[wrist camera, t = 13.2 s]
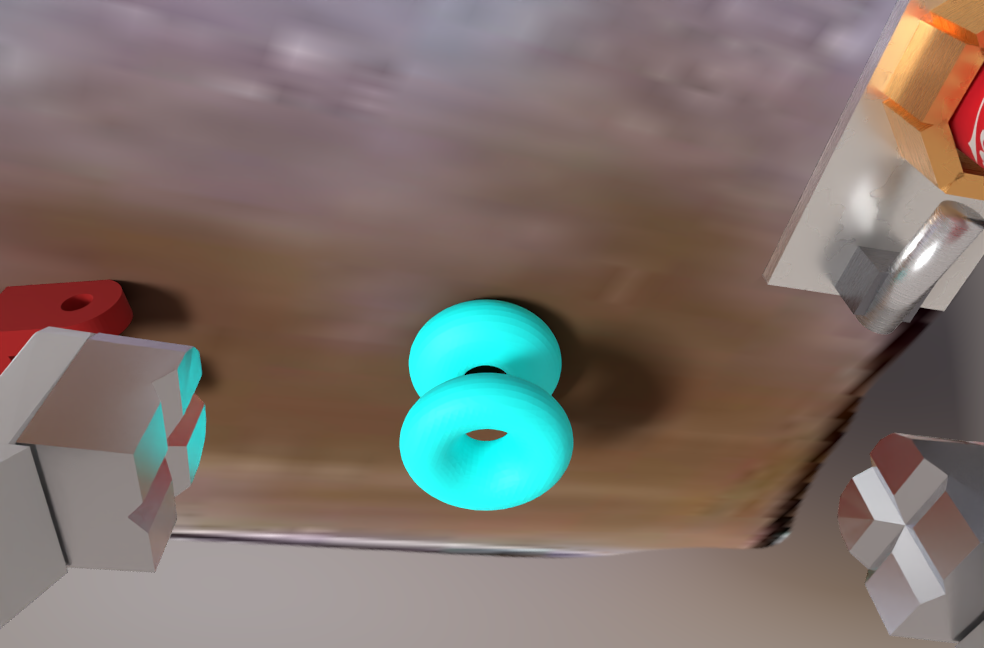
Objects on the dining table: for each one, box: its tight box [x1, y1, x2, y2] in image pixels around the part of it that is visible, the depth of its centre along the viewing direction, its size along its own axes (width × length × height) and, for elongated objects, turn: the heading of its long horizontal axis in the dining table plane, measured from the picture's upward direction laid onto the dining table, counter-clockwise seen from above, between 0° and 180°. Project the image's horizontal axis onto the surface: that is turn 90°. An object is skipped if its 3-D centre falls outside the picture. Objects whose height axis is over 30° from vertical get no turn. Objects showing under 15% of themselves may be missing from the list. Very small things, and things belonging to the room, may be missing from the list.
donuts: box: [400, 299, 573, 510], centre depth 44 cm, size 10×10×10 cm
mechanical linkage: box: [0, 280, 133, 375], centre depth 44 cm, size 16×7×5 cm, turn 94°
